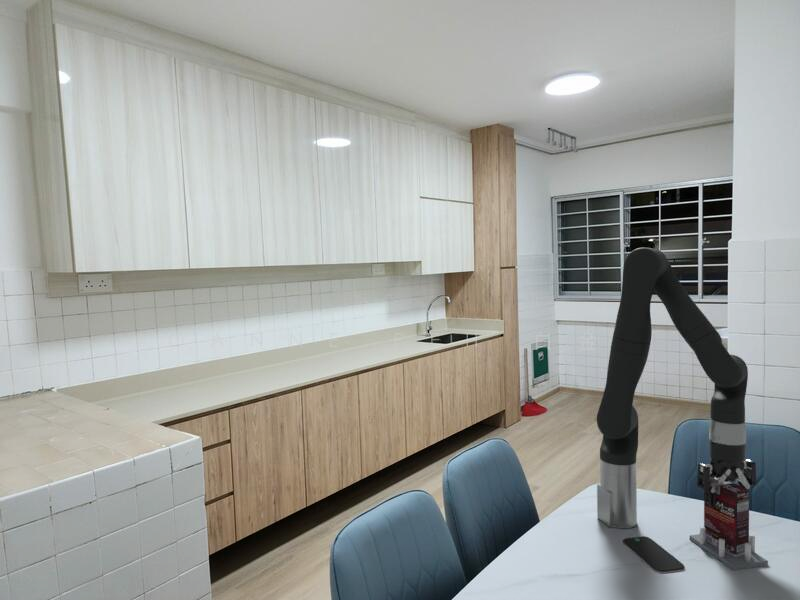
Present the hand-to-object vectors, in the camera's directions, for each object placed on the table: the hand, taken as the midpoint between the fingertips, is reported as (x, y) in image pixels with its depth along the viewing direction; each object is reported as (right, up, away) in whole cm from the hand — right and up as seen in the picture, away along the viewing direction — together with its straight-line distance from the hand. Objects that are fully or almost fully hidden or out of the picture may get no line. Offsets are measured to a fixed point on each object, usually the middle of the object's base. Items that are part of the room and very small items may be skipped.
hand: (726, 504), depth 126 cm
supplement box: (0, -11, 0) cm, 11 cm away
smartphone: (-18, -13, 0) cm, 22 cm away
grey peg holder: (0, -12, +1) cm, 12 cm away
